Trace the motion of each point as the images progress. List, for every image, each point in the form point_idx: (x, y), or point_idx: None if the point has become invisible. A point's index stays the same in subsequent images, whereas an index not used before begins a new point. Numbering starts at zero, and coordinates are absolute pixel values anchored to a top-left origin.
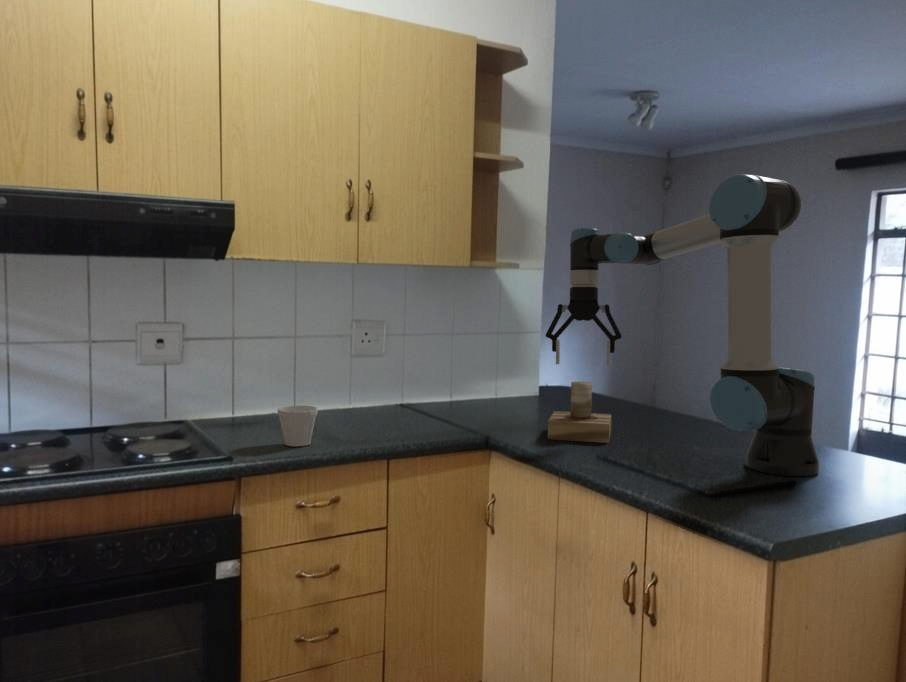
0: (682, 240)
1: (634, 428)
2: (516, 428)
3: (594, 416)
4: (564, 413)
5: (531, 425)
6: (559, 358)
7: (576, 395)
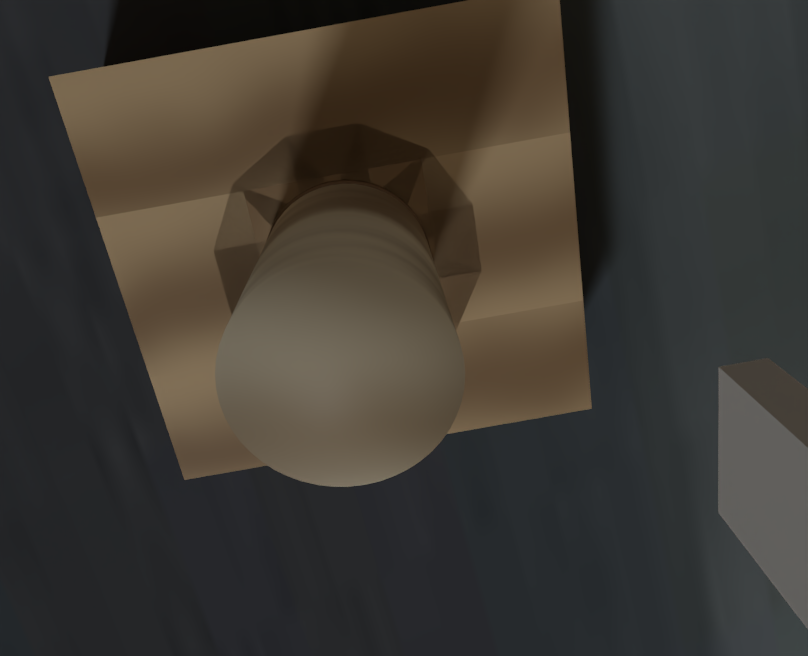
0: None
1: (121, 565)
2: (788, 244)
3: None
4: (502, 356)
5: (709, 376)
6: (764, 542)
7: (367, 229)
